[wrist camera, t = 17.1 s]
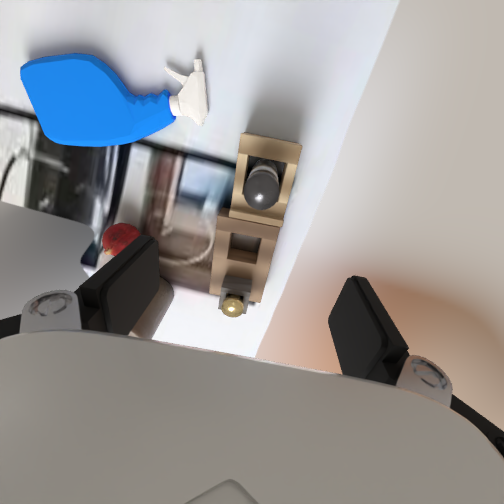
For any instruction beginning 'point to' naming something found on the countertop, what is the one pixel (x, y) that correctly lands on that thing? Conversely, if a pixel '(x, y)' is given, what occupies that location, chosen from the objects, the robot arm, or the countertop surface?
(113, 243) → the onion
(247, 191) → the capped metal cylinder
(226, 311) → the round brass peg
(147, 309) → the pillar candle
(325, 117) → the countertop surface
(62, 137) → the spray bottle
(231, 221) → the socket block
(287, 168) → the frame
